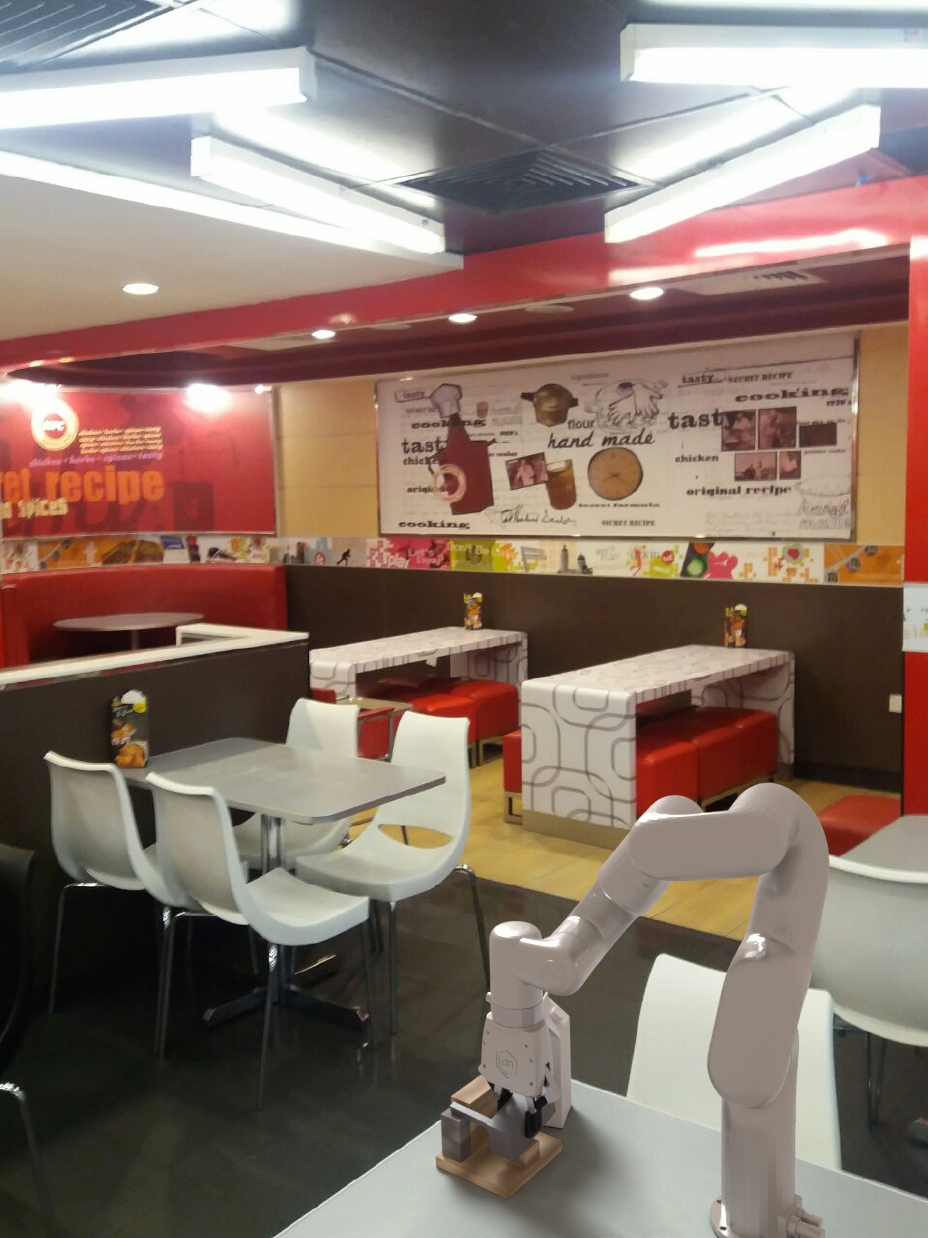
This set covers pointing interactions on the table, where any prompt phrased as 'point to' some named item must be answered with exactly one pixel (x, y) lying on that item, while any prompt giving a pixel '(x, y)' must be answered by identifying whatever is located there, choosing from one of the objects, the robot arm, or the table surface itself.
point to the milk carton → (559, 1058)
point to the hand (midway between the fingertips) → (519, 1127)
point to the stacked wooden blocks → (487, 1146)
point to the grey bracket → (506, 1125)
